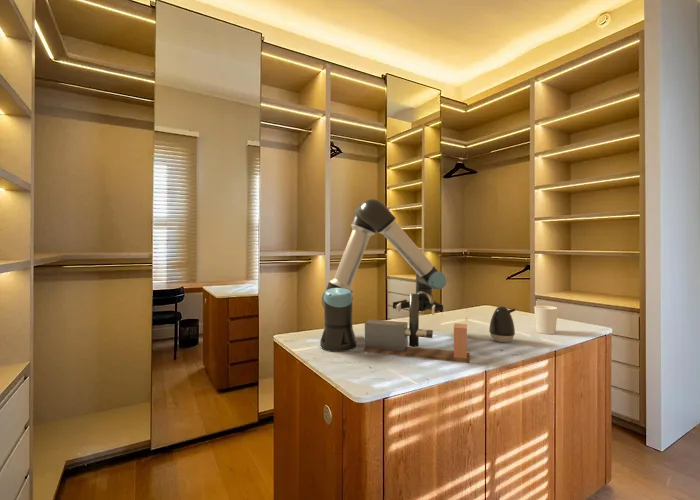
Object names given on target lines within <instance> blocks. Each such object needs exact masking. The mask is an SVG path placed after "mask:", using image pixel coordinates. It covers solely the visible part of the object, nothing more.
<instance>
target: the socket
mask: <svg viewBox="0 0 700 500" xmlns="http://www.w3.org/2000/svg"><path fill="white" fill-rule="evenodd" d="M467 348H468V324H467V323H456V322H455V323H454V324H453V351H454V357H455V358H465V359H467V352H468V350H467Z"/></svg>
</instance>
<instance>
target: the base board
mask: <svg viewBox="0 0 700 500" xmlns="http://www.w3.org/2000/svg"><path fill="white" fill-rule="evenodd" d="M363 352H364V353H375V354H382V355H383V354H385V355H392V356H393V355H394V356H401V357H402V356H403V357H413V358H423V359H431V360H440V361H441V360H442V361H451V362H458V363H459V362H461V363H469V364H470V363H471V362H470V361H471V360H470V356H471V355H470V351H467V359H465V358H455V357H454V350H449V349H436V348H427V347H419V346H417V347H412V346H408V347H407V349H406V351H405V352H398V351H388V350H378V349H368V348H365V347H364V348H363Z"/></svg>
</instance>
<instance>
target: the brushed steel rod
mask: <svg viewBox="0 0 700 500" xmlns="http://www.w3.org/2000/svg"><path fill="white" fill-rule="evenodd" d="M408 295H409V297H408V298H409V299H408V300H409V301H408V302H409V308H408V309H409V311H408V312H409V313H408V315H409V316H408V317H409V319H408V328H405V336H408V339H409V340H408V347H419V340H420V339H419V338H426V339H433V337H434V336H433V335H434V334H433V332H434V330H433V329H424V328H423V329H422V328H421V329H420V327H419V326H420V325H419V324H420V322H419V321H420V320H419V317H420V311H419V294H416V293H409V294H408Z"/></svg>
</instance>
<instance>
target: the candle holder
mask: <svg viewBox="0 0 700 500" xmlns="http://www.w3.org/2000/svg"><path fill="white" fill-rule="evenodd" d="M533 309H534V322H535V323H534V326H535V332H536V333H538V332H539V333H538V334H542V333H544V334H543V335H555V334H556V330H557V321H558V307H556V306H552V305H534V306H533Z"/></svg>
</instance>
